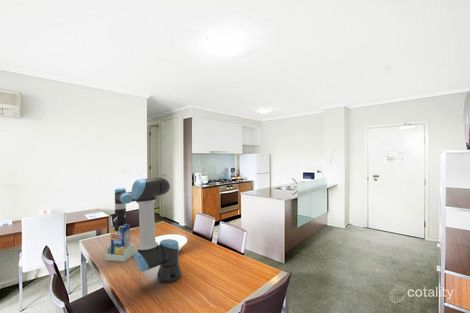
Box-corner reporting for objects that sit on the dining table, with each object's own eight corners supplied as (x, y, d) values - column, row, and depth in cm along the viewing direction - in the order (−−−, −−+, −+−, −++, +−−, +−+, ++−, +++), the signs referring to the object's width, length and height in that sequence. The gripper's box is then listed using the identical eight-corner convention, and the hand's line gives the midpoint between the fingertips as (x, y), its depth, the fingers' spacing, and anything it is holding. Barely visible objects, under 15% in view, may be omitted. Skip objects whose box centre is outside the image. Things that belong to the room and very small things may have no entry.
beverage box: (124, 256, 160) (124, 227, 160) (111, 255, 162) (110, 226, 162) (130, 252, 167) (129, 224, 167) (117, 251, 168) (117, 223, 168)
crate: (134, 254, 169) (134, 243, 169) (123, 262, 157) (123, 250, 157) (117, 252, 172) (117, 241, 172) (105, 260, 159) (105, 248, 159)
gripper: (122, 205, 172) (122, 234, 172) (108, 210, 157) (108, 242, 157) (131, 206, 171) (131, 235, 171) (117, 211, 156) (117, 242, 156)
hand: (120, 238), depth 164 cm, fingers closed on beverage box, 2 cm apart
